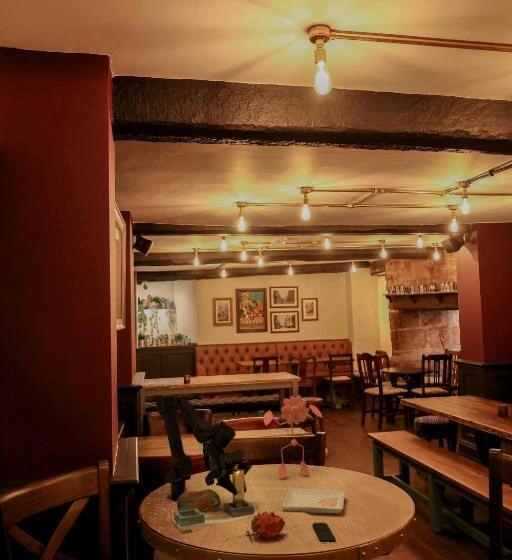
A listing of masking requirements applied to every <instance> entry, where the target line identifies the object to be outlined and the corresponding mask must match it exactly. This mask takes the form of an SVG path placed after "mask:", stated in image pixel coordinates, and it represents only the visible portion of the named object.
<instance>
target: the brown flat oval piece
mask: <svg viewBox="0 0 512 560" xmlns="http://www.w3.org/2000/svg"><path fill="white" fill-rule="evenodd" d="M220 507H221V497H220V495H219V494H218V492H217V491H215V490H213V489H210V488H208V489H207V488H206V489H198V490H190V491H189V490H187V491H186V492H184V493H183V494H181V495H180V497H179V498H178V500H176V508H177V511H183V510H189V509H195V508H197V509H198V510H199V511H200V512H202V513H203V514H204V513H210V512H216V511H219V509H220Z"/></svg>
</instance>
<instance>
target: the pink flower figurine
mask: <svg viewBox="0 0 512 560" xmlns="http://www.w3.org/2000/svg"><path fill="white" fill-rule="evenodd" d="M283 404H284V406H282V407H281V409H280V410H281V412H282V413H281V416H280V417H281V419H282V420H285V419H286V421H285V422H281V423H280V422H279V421H278V420H277V418H276V417H275V416H274V414H273V413H272V411H271V410H268V411H266V412H265V413H264V415H263V423H264V425H265V426H266V427H267V426H268V425H270V423H271V422H272V420H275V422H276V423H277V424H278V425H279V426H282V425H285V424H288V425H291V426H290V427H291V428H290V429H291V433H292V437H293V439H291V441H290V443H289V444H287V445H286V446H284V447H282V448H281V449H280V453H281V463H280V464H279V466H278V468H277V470H278V475H279V477H280V479H281V480H283V479H284V478H286V476H287V474H288V473H287V472H288V467H287V465H286V464H285V463H284V459H283V458H284V457H283V449H286V448H287V447H289V446H293V447H296V446H297V445H298V446H300V447H302V461H300V467H301V468H300V473H302V474H303V473H304V474H305V475H306V476H307V475H309V476H310V469H309V467H308V465H307V464H306V462H305V461H304V460H305V459H304V458H305V454H304V453H305V452H304V451H305V448H304V447H305V446H303V445H301V444H299V443H298V441H297V440H296V438H295V434H294V429H293V424H295V425H299V424H300V422H303V423H304V422H305V421H306V419H307V416H308V413H309V411H310V410H311V412H312V413H313V414H314V415H316V416H317V417H319V418H321V419H323V415H322V412H321V411H320V410H319V408H318V407H317V406H315V405H314V404H309V406H308V407H306V406H307V401H306V400H302V397H301V395H297V396H296V397H295V396H292V395H291V396H290V397H289V398H285V399H283Z"/></svg>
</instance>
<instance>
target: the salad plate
mask: <svg viewBox="0 0 512 560" xmlns="http://www.w3.org/2000/svg"><path fill="white" fill-rule="evenodd" d="M346 494H347V493H346V491H344V490H332V489H312V488H290V489H289V490H288V492H287V495H286V497H285V499H284V500H283V502H282V504H281V508H282V509H283V510H284V511H287V512H304V513H305V514H315V513H333V514H332V515H334V513H336V514H339V513H341V512H342V511H343V509H344V504H345V503H344V502H345V497H346ZM327 498H328V499H330V498H338V500H337V505H336V506H335V507H331V506H330V505H329V504H327V505H329V507H328V506H326V505H325V506H326V507H324V508H323V507H321V506H322V505H321V504H320V503H321V502H320V500H323V499H326V500H327ZM319 502H320V503H319Z"/></svg>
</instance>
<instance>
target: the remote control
mask: <svg viewBox="0 0 512 560" xmlns="http://www.w3.org/2000/svg"><path fill="white" fill-rule="evenodd" d="M311 527H313V528H312V530H313V529H314V530H313V532H314V531H315V532H314V534H315V533H316V534H315V536H316V535H317V536H316V537H318V538H317V540H318V539H319V540H318V542H319V541H320V542H330V543H329V544H332V543H331V542H335V543H336V542H337V541H336V540H337V539H336V537H335V535H334V533H333V532H332V530H331V528H330V527H329V525H328V523H326V522H315V523H312V526H311ZM320 542H319V543H320Z"/></svg>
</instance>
